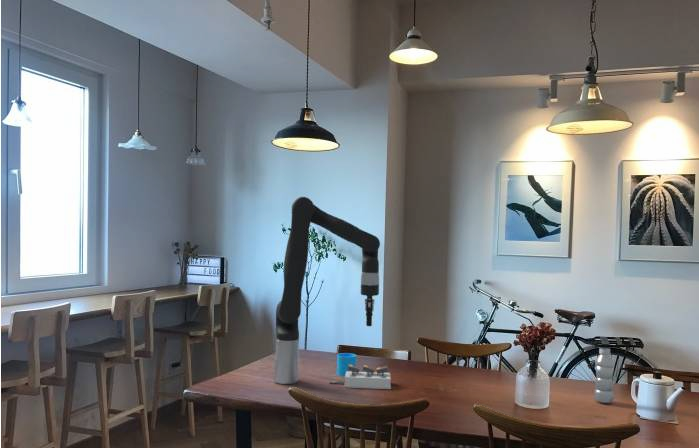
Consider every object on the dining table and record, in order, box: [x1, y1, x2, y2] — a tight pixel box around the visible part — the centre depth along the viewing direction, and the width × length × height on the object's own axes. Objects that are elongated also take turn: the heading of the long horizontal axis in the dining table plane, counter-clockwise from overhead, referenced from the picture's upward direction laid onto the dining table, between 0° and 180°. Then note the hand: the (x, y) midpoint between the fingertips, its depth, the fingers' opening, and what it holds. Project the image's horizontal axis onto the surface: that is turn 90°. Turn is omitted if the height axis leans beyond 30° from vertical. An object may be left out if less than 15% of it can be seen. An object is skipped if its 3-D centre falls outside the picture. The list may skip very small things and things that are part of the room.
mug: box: [336, 352, 357, 377], centre depth 233 cm, size 12×8×8 cm
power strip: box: [329, 371, 392, 390], centre depth 215 cm, size 25×9×5 cm, turn 87°
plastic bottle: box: [593, 347, 615, 404], centre depth 199 cm, size 6×7×20 cm
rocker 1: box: [348, 364, 361, 373], centre depth 216 cm, size 5×3×2 cm
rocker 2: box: [361, 364, 375, 374], centre depth 216 cm, size 5×3×2 cm
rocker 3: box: [375, 365, 389, 374], centre depth 216 cm, size 5×3×2 cm
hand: (369, 324), depth 220 cm, fingers open, 4 cm apart
